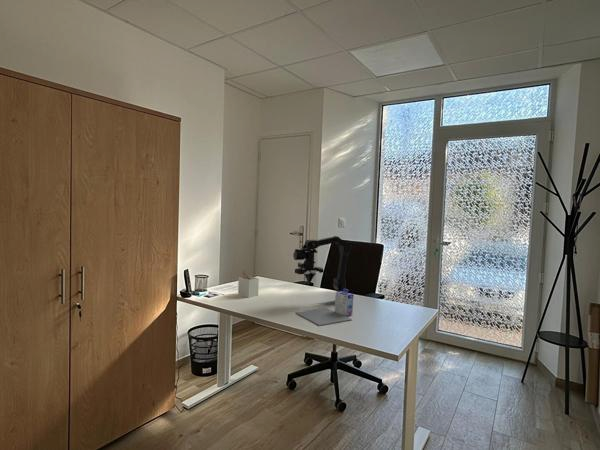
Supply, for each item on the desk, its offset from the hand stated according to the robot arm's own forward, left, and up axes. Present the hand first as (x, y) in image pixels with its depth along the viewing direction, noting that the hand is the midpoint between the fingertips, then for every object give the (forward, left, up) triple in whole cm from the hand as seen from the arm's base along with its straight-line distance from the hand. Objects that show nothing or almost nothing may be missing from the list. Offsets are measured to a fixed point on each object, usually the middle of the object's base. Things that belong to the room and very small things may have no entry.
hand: (308, 283), depth 226 cm
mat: (+6, +26, -13) cm, 30 cm away
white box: (+26, -36, -14) cm, 46 cm away
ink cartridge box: (-8, +26, -13) cm, 30 cm away
